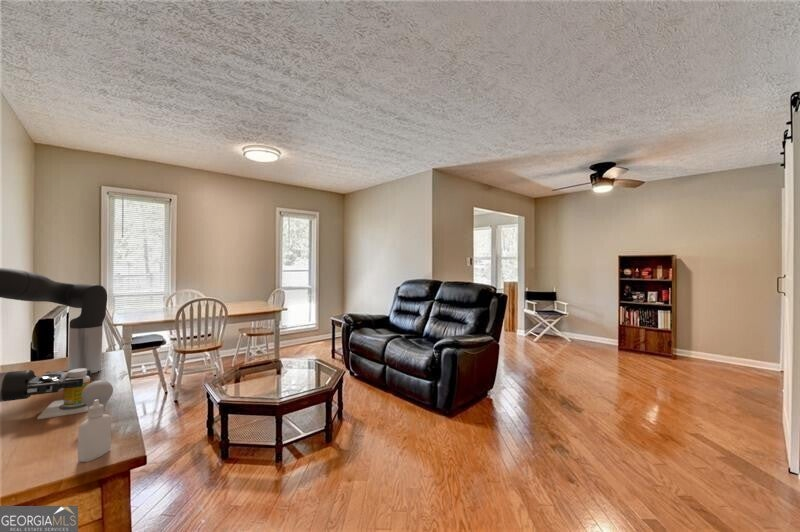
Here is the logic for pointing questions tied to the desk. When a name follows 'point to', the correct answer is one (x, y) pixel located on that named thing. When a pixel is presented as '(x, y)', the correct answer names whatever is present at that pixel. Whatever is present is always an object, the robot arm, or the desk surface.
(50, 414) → the plate
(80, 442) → the eye dropper bottle
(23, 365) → the desk surface
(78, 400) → the supplement bottle
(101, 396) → the lightbulb
